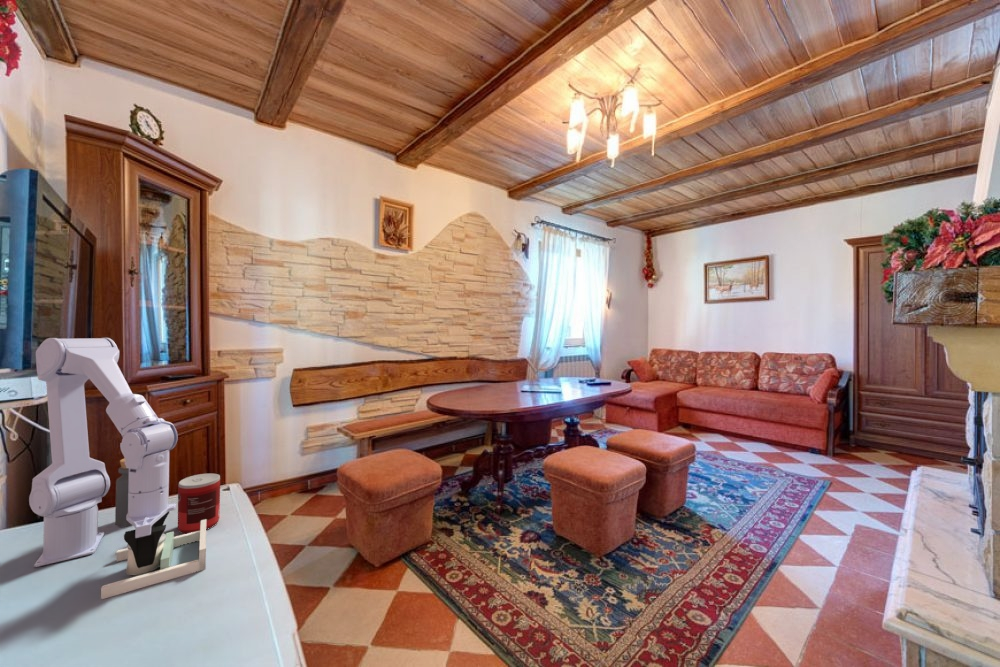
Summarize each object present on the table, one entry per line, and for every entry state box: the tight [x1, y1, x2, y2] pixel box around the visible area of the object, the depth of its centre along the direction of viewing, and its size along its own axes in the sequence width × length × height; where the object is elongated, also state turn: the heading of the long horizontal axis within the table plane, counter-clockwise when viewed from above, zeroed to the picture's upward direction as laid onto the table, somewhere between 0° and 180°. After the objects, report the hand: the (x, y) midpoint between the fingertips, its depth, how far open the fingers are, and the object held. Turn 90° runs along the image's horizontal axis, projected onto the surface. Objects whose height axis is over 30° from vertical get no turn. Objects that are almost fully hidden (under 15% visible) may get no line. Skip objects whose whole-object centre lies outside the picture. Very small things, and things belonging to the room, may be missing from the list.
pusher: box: [159, 531, 175, 570], centre depth 74 cm, size 11×1×3 cm, turn 38°
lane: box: [100, 519, 207, 600], centre depth 74 cm, size 14×14×4 cm
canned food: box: [177, 473, 221, 534], centre depth 88 cm, size 8×8×11 cm
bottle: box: [114, 458, 133, 528], centre depth 90 cm, size 6×6×15 cm
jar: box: [125, 533, 166, 576], centre depth 72 cm, size 5×5×5 cm
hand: (147, 557), depth 72 cm, fingers closed on jar, 5 cm apart
